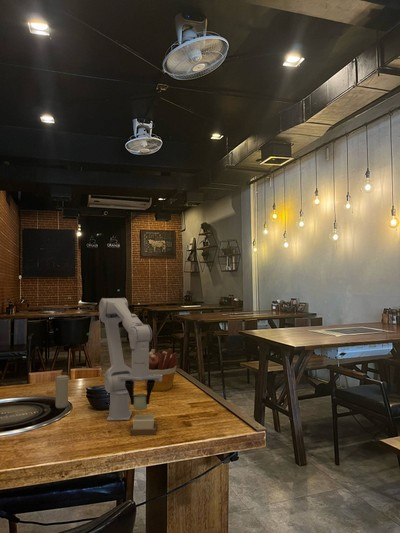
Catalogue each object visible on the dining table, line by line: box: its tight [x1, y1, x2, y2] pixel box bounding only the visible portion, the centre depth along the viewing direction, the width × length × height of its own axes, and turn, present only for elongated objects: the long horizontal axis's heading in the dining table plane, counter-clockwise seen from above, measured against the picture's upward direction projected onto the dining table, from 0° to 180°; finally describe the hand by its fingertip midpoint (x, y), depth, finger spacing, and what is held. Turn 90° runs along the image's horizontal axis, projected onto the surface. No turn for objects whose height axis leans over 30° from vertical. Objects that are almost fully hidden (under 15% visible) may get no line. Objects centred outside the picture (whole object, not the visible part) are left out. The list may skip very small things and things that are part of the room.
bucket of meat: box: [144, 347, 179, 393], centre depth 186 cm, size 20×16×20 cm
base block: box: [129, 420, 158, 437], centre depth 130 cm, size 8×8×2 cm
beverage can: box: [54, 374, 69, 409], centre depth 158 cm, size 5×5×12 cm
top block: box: [132, 413, 155, 429], centre depth 130 cm, size 6×6×2 cm
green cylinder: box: [132, 393, 148, 411], centre depth 130 cm, size 4×4×4 cm
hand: (140, 403), depth 131 cm, fingers closed on green cylinder, 4 cm apart
